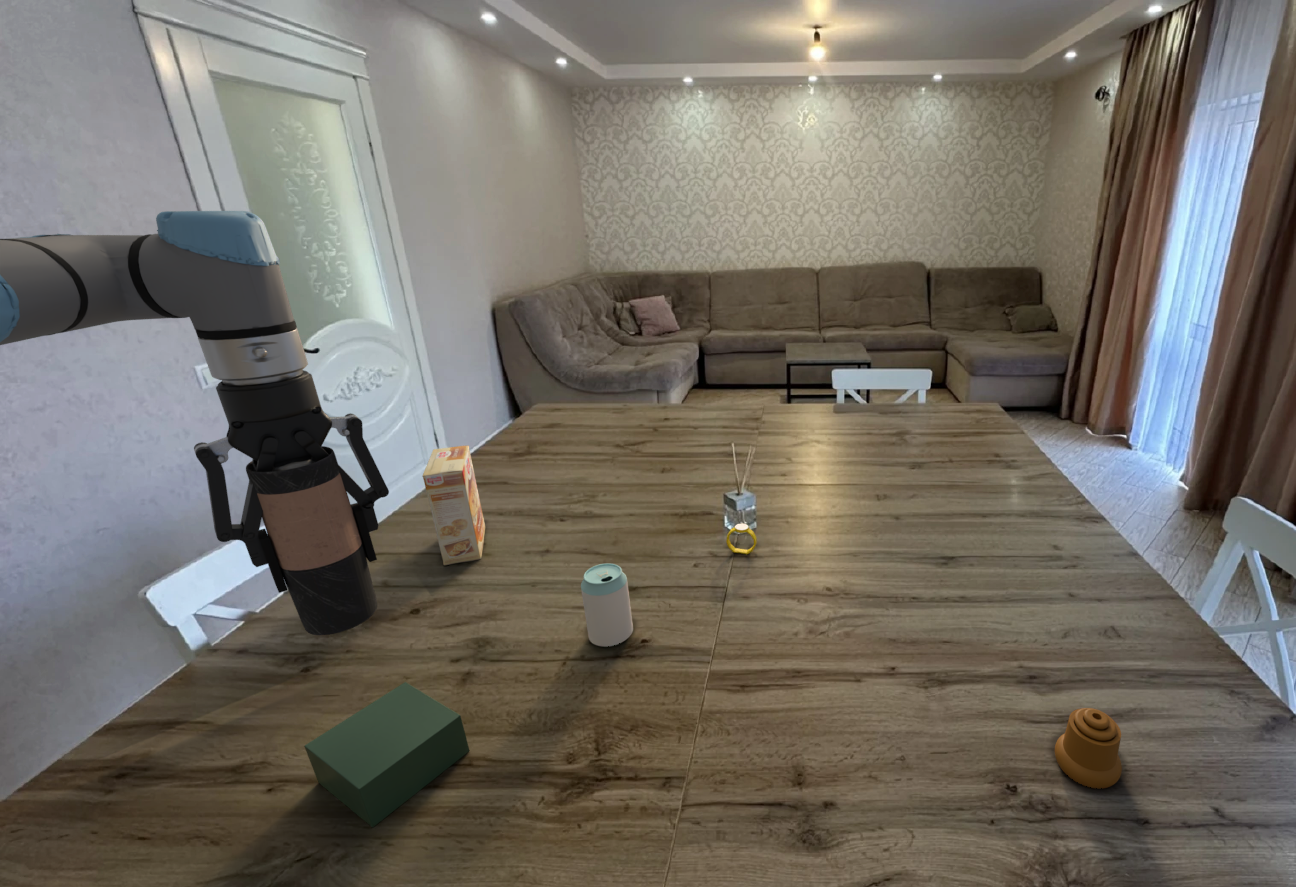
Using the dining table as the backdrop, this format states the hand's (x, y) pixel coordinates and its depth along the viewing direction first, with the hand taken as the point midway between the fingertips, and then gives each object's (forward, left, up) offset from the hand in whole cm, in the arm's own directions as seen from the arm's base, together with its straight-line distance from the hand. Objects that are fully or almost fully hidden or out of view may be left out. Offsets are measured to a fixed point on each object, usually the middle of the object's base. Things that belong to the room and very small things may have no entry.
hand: (327, 570), depth 69 cm
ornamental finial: (+60, -66, -27) cm, 93 cm away
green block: (0, -4, -27) cm, 27 cm away
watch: (+64, +3, -27) cm, 70 cm away
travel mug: (0, 0, -6) cm, 6 cm away
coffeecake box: (+26, +47, -27) cm, 60 cm away
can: (+32, -1, -27) cm, 42 cm away
